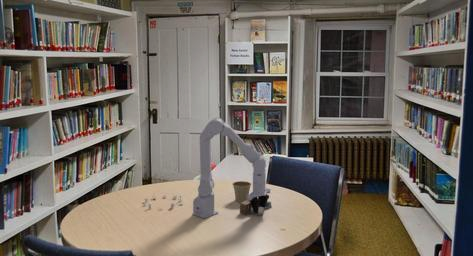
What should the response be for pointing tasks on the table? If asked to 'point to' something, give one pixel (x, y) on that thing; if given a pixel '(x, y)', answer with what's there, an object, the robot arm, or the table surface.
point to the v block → (268, 205)
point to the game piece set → (163, 197)
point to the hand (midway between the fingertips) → (258, 211)
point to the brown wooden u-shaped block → (244, 207)
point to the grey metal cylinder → (260, 211)
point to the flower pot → (241, 190)
